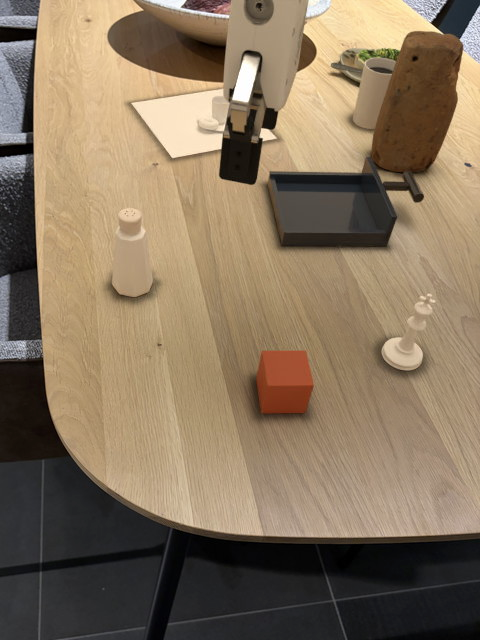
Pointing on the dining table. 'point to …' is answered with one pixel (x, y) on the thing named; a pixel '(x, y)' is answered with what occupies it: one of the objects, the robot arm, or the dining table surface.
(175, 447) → the dining table surface
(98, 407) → the dining table surface
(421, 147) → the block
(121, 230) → the pepper shaker
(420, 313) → the chess piece
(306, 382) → the terracotta block
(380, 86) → the white cup
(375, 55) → the salad plate
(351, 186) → the tipping dish
